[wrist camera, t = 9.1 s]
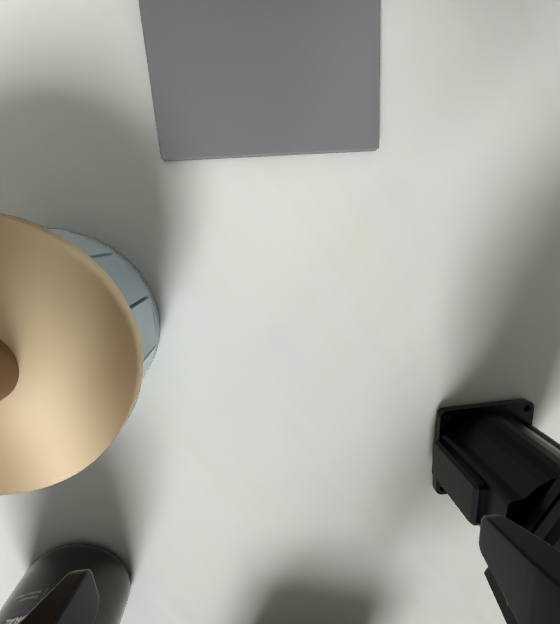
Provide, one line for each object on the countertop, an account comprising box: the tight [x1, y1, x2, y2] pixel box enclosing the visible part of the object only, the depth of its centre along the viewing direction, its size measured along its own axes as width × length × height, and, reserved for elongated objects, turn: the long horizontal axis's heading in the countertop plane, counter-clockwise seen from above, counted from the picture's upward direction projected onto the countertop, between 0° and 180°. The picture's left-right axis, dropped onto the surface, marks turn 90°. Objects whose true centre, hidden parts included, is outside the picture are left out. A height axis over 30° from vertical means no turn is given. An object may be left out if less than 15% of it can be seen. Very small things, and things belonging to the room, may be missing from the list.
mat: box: [139, 0, 380, 161], centre depth 15 cm, size 11×11×1 cm
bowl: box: [46, 228, 160, 379], centre depth 15 cm, size 10×10×5 cm
